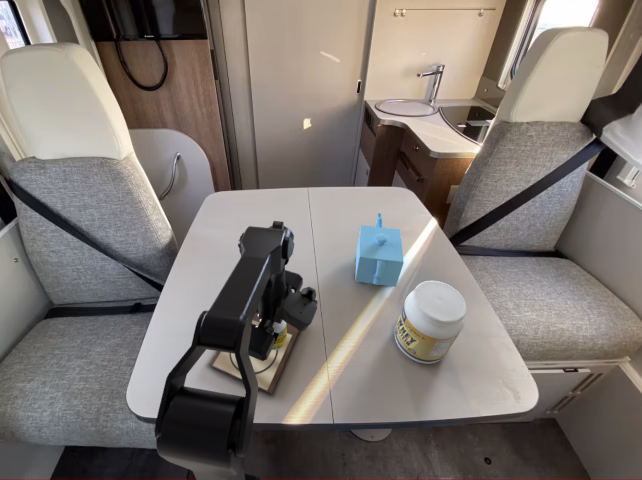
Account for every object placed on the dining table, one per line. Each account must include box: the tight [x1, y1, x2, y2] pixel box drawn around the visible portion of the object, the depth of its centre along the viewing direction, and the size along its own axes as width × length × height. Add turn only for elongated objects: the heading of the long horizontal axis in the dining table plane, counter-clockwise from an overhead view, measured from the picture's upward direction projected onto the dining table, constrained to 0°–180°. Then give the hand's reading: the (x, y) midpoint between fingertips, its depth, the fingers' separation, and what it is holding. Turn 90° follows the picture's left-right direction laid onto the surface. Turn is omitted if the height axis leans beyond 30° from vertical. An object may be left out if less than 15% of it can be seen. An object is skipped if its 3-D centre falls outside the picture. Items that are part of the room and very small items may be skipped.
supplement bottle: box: [260, 319, 287, 350], centre depth 63 cm, size 5×5×10 cm
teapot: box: [354, 212, 405, 288], centre depth 89 cm, size 22×11×14 cm, turn 169°
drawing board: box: [208, 313, 300, 395], centre depth 75 cm, size 18×16×1 cm
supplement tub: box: [394, 280, 468, 365], centre depth 70 cm, size 12×12×17 cm
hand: (274, 333), depth 64 cm, fingers closed on supplement bottle, 5 cm apart
